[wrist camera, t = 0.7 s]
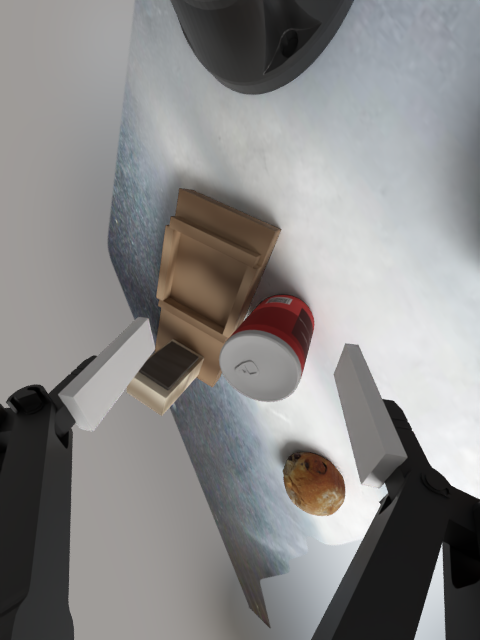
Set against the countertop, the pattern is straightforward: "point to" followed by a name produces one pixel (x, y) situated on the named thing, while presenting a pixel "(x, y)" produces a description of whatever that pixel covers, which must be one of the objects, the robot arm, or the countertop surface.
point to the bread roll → (313, 484)
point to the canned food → (269, 349)
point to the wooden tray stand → (201, 294)
